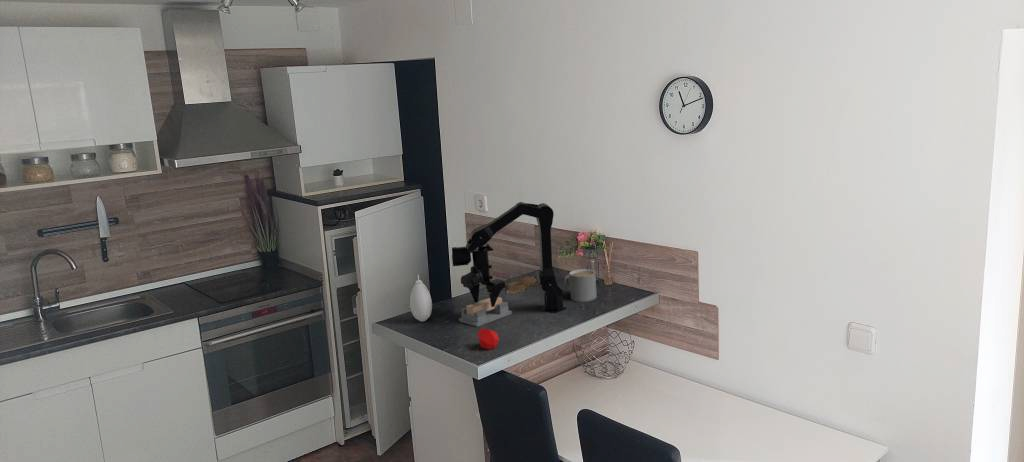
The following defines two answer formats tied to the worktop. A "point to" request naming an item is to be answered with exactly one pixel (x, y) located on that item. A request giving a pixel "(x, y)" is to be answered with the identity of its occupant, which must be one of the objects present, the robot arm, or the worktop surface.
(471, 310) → the clay bar
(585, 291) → the coffee mug
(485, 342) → the apple
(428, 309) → the white air blower bulb
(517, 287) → the wooden fragment
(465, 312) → the grey cradle stand
